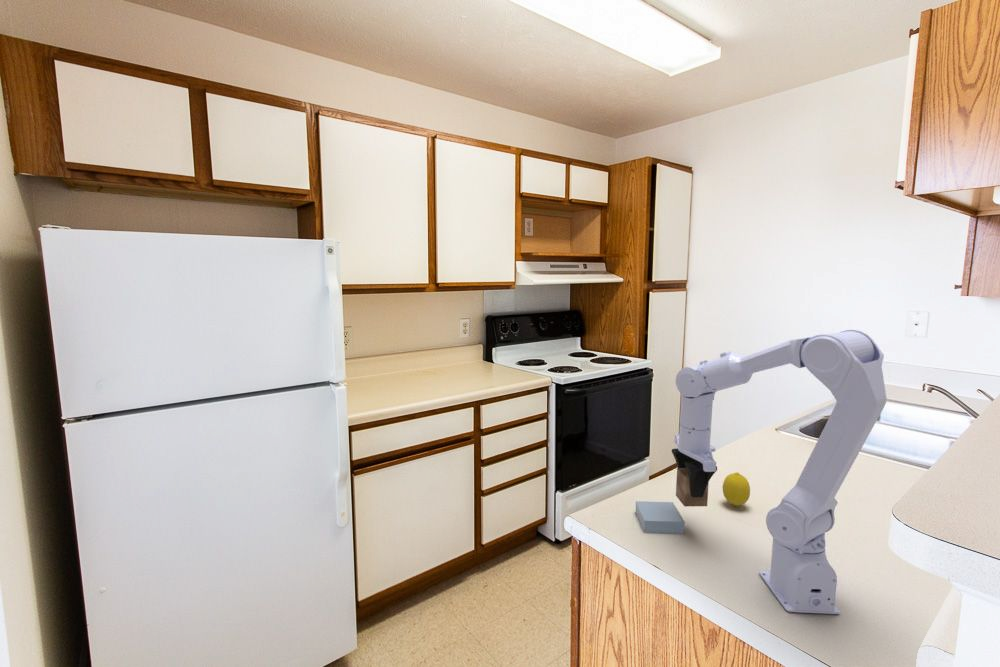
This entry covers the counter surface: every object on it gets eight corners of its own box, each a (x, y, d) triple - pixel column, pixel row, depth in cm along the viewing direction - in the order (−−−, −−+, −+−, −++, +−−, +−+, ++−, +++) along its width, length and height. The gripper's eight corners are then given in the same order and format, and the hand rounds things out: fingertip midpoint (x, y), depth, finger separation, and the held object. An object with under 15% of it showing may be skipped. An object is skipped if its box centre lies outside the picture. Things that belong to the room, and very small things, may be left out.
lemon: (752, 513, 101) (754, 479, 100) (725, 511, 103) (727, 477, 101) (744, 501, 107) (746, 468, 106) (718, 499, 108) (720, 466, 107)
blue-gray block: (684, 535, 94) (684, 521, 94) (644, 534, 95) (644, 520, 94) (672, 514, 102) (672, 502, 102) (635, 513, 103) (635, 501, 102)
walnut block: (707, 506, 91) (708, 477, 91) (684, 506, 91) (686, 477, 90) (697, 495, 96) (698, 467, 95) (675, 495, 96) (677, 467, 95)
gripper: (734, 438, 84) (729, 508, 86) (699, 413, 99) (695, 474, 101) (695, 439, 84) (691, 509, 86) (666, 414, 98) (663, 474, 100)
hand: (691, 490), depth 93 cm, fingers closed on walnut block, 4 cm apart
